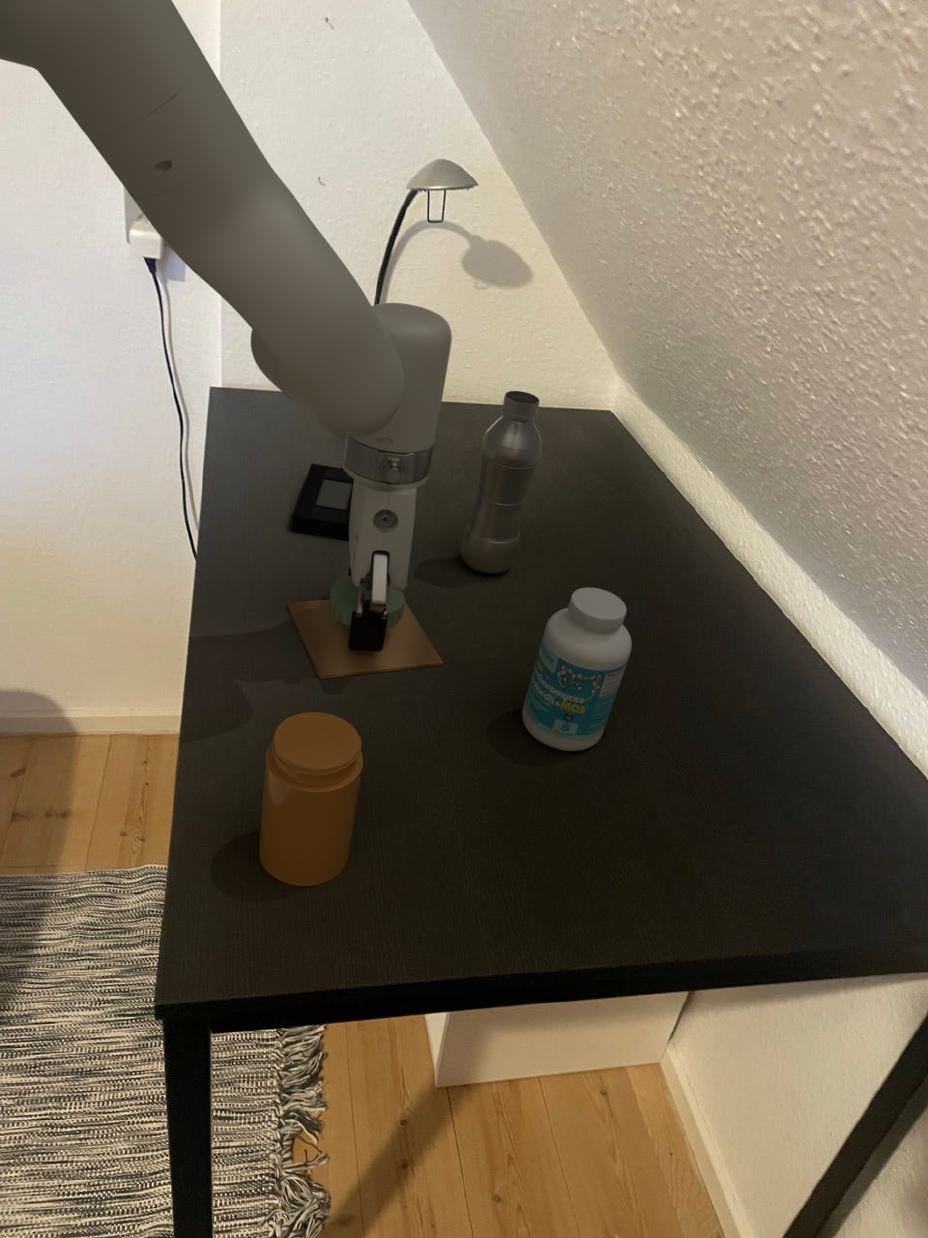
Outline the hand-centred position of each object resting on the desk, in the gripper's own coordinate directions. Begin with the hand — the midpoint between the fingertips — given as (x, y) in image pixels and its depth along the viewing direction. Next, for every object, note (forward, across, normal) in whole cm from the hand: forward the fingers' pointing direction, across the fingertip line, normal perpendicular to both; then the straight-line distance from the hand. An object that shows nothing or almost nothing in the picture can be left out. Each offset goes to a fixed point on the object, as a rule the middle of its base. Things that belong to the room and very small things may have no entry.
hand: (363, 624), depth 91 cm
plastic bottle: (+1, +15, -15) cm, 21 cm away
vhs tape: (+1, +26, +2) cm, 26 cm away
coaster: (+1, 0, 0) cm, 1 cm away
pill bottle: (+1, -12, -17) cm, 21 cm away
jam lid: (-3, 0, 0) cm, 3 cm away
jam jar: (+1, -28, +6) cm, 28 cm away
